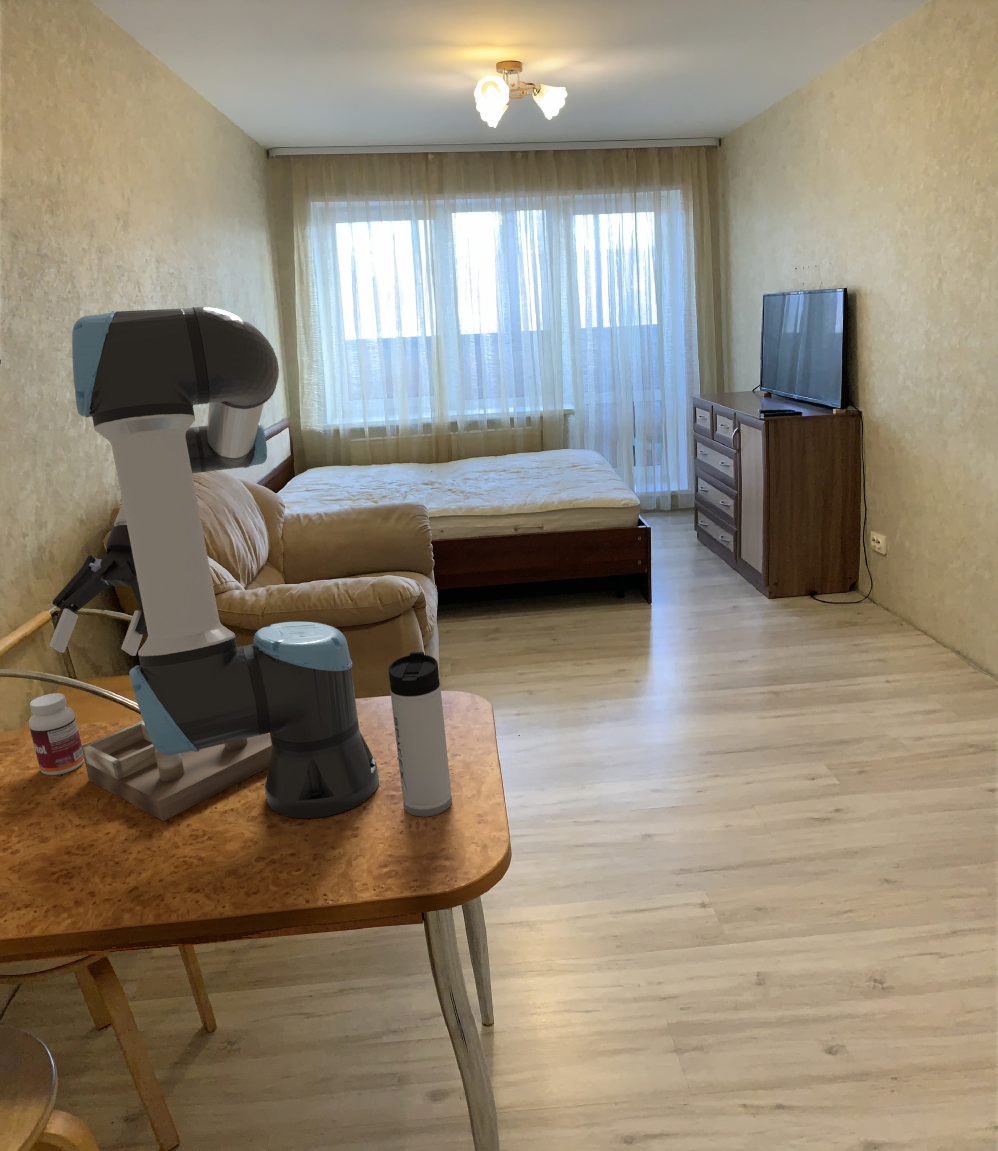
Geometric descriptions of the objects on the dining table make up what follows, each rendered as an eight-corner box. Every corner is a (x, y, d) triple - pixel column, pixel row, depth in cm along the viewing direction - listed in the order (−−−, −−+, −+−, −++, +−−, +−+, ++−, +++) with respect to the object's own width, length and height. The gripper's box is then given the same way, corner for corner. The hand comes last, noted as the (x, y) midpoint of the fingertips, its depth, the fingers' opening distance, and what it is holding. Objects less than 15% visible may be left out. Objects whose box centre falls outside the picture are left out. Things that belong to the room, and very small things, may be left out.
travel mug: (455, 790, 118) (441, 650, 112) (448, 817, 112) (433, 670, 106) (409, 791, 119) (393, 652, 113) (399, 818, 112) (382, 672, 107)
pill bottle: (35, 766, 134) (19, 700, 131) (78, 752, 137) (63, 687, 134) (46, 781, 129) (29, 712, 126) (90, 766, 133) (75, 698, 130)
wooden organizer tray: (286, 757, 131) (279, 714, 129) (163, 821, 116) (153, 773, 114) (208, 726, 143) (201, 686, 141) (88, 780, 128) (79, 736, 126)
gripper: (212, 545, 148) (173, 663, 139) (89, 545, 155) (43, 657, 146) (187, 522, 142) (145, 643, 132) (60, 522, 149) (11, 638, 139)
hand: (91, 651), depth 139 cm, fingers open, 13 cm apart
